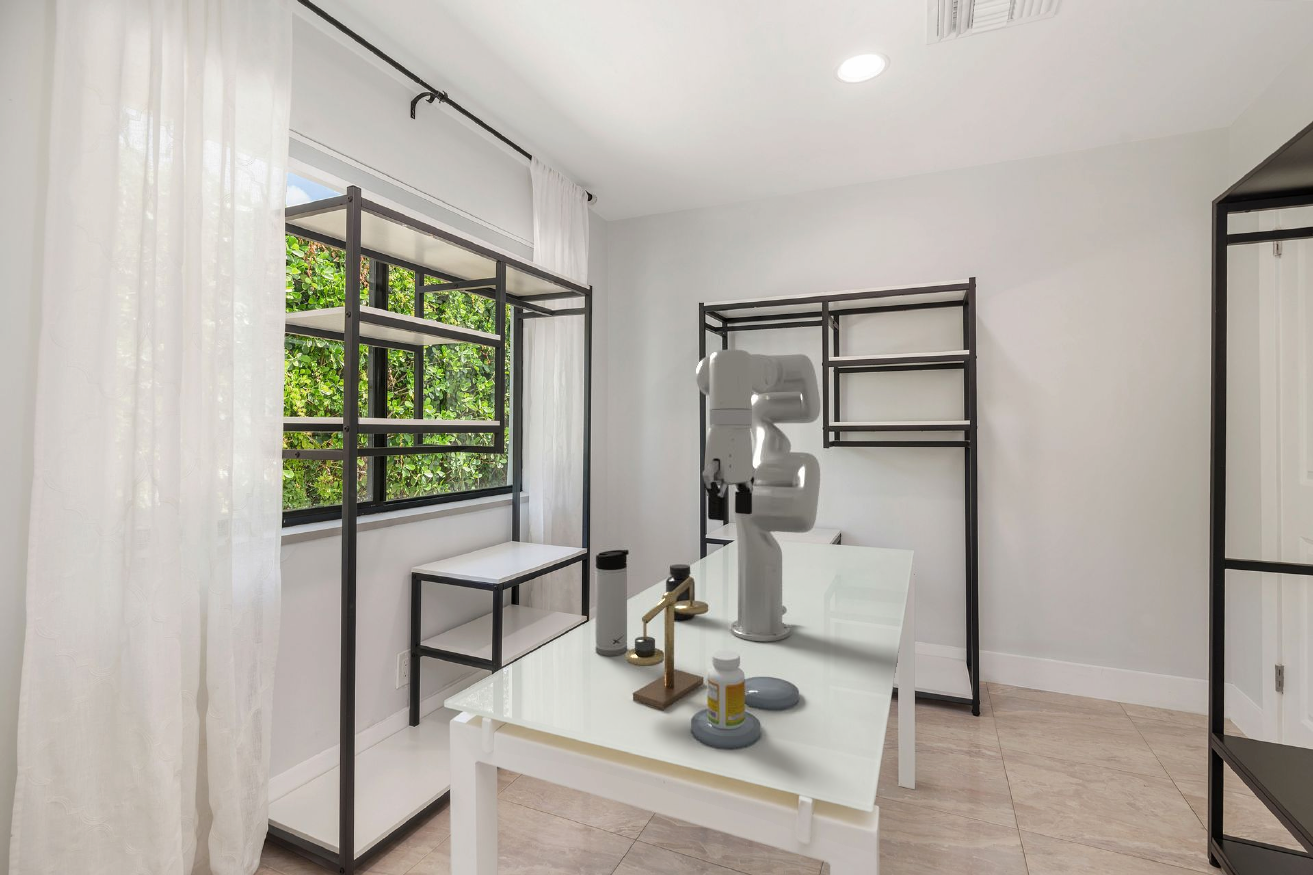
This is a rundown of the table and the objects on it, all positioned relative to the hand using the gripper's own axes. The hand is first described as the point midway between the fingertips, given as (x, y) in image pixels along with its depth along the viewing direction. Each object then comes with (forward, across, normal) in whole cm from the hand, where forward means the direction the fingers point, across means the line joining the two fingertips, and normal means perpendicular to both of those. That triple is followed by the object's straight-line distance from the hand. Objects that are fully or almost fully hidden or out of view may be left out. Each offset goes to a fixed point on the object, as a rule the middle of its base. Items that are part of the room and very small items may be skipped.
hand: (730, 516), depth 106 cm
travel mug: (+28, +3, -25) cm, 38 cm away
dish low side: (+28, +18, +9) cm, 35 cm away
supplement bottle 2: (+27, +18, +9) cm, 34 cm away
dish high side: (+28, +4, +9) cm, 30 cm away
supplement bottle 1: (+28, -23, -26) cm, 45 cm away
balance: (+28, +12, -5) cm, 31 cm away
